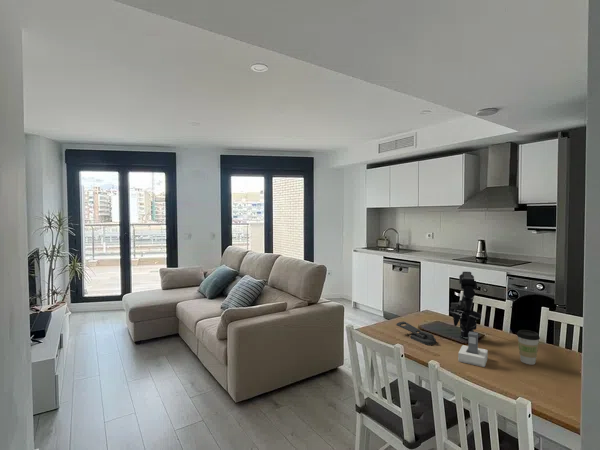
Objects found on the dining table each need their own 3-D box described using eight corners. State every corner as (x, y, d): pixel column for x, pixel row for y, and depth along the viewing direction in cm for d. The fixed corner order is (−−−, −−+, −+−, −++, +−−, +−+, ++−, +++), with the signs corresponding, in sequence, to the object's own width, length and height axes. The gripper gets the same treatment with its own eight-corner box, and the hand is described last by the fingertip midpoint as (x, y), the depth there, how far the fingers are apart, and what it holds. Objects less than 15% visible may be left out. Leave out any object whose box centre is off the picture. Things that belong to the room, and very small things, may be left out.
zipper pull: (403, 320, 221) (438, 331, 200) (403, 330, 221) (438, 342, 200) (394, 323, 216) (428, 334, 195) (394, 333, 216) (428, 346, 195)
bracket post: (469, 355, 179) (469, 331, 178) (477, 357, 177) (477, 332, 176) (468, 359, 175) (468, 334, 175) (476, 360, 173) (476, 335, 172)
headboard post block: (462, 353, 185) (462, 345, 184) (487, 358, 178) (487, 349, 177) (458, 361, 175) (458, 352, 175) (484, 367, 168) (484, 358, 168)
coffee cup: (512, 359, 175) (512, 331, 175) (524, 356, 179) (524, 328, 179) (531, 367, 166) (531, 337, 166) (544, 363, 170) (544, 334, 170)
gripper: (444, 294, 199) (438, 320, 196) (468, 297, 181) (461, 326, 178) (459, 300, 201) (453, 326, 198) (484, 303, 183) (478, 332, 180)
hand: (461, 327), depth 189 cm, fingers open, 9 cm apart
